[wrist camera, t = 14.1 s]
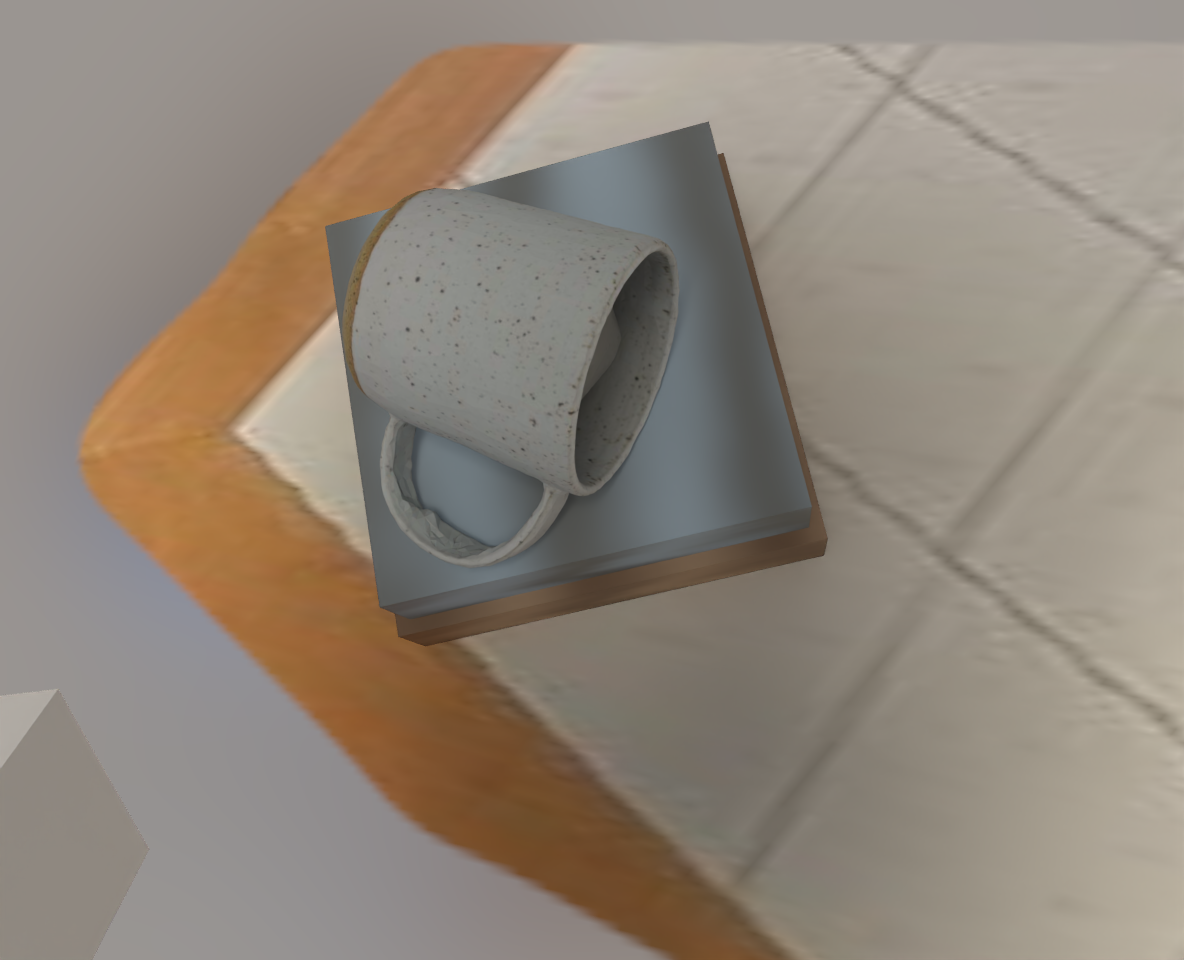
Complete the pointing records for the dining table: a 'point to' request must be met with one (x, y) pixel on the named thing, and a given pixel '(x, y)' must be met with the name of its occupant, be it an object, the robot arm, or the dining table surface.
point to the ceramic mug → (507, 348)
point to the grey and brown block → (661, 450)
